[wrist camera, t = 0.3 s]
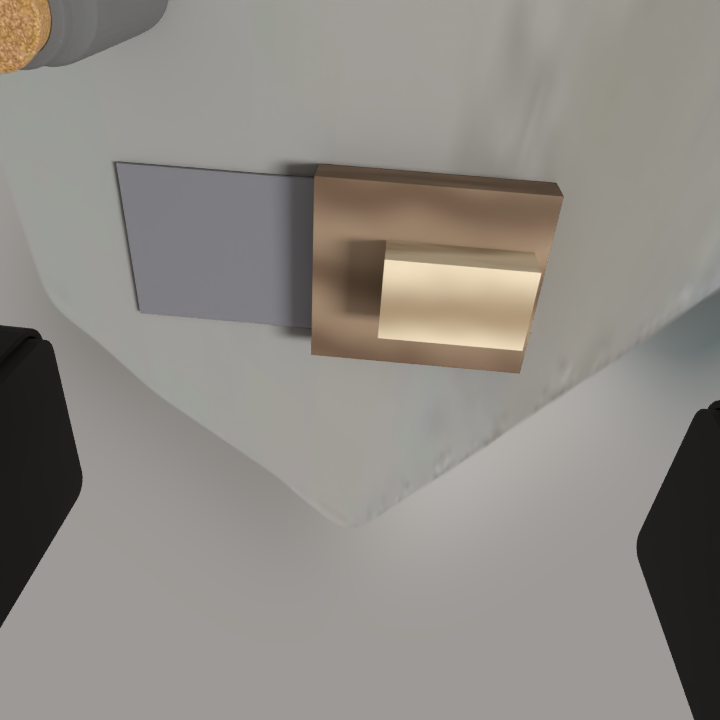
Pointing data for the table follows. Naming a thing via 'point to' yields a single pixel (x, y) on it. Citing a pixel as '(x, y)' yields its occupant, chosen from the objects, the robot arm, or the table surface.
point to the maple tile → (457, 295)
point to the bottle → (68, 29)
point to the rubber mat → (220, 243)
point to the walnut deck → (420, 225)
